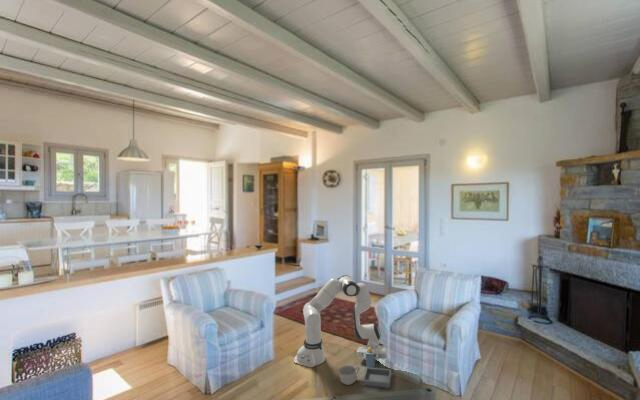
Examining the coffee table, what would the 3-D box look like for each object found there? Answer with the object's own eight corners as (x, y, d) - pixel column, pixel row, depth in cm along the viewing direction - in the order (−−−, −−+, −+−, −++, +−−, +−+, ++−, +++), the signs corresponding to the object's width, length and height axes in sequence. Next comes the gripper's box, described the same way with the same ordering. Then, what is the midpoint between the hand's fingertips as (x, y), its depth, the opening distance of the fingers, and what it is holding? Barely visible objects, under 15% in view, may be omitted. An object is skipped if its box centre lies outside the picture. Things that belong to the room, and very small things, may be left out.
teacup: (343, 389, 192) (342, 376, 192) (337, 378, 203) (336, 366, 202) (364, 383, 196) (363, 371, 195) (357, 373, 206) (356, 361, 206)
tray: (363, 386, 193) (362, 380, 193) (366, 372, 207) (366, 367, 207) (389, 388, 189) (389, 383, 189) (391, 374, 202) (391, 369, 202)
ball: (367, 352, 211) (366, 348, 212) (368, 351, 214) (367, 346, 215) (371, 352, 210) (371, 348, 211) (372, 351, 213) (372, 346, 214)
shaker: (366, 368, 211) (365, 353, 211) (367, 363, 216) (366, 349, 215) (374, 368, 210) (373, 353, 209) (375, 364, 215) (374, 349, 214)
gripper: (358, 342, 228) (354, 353, 215) (387, 345, 222) (385, 355, 209) (358, 351, 228) (355, 362, 215) (387, 353, 222) (385, 365, 209)
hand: (370, 359), depth 212 cm, fingers closed on shaker, 5 cm apart
